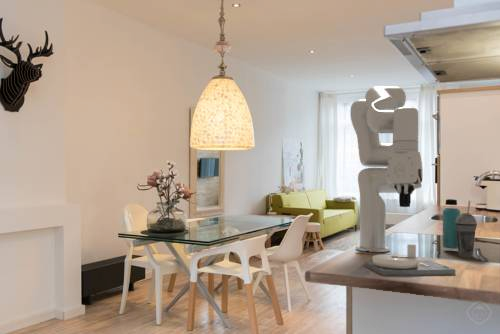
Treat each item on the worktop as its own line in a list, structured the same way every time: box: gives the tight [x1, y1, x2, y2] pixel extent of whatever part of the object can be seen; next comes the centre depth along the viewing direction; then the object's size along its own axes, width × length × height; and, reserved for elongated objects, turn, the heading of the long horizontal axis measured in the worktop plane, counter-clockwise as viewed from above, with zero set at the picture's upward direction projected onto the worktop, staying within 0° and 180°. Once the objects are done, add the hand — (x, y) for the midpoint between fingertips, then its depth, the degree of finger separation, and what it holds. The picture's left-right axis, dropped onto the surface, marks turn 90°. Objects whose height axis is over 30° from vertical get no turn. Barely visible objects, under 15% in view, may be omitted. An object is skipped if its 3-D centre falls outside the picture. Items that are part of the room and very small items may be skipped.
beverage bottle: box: [441, 198, 461, 250], centre depth 177 cm, size 6×7×20 cm
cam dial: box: [372, 243, 419, 269], centre depth 139 cm, size 13×13×6 cm
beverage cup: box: [455, 200, 478, 258], centre depth 166 cm, size 7×7×20 cm
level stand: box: [363, 259, 456, 277], centre depth 139 cm, size 15×22×2 cm
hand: (404, 206), depth 142 cm, fingers closed
